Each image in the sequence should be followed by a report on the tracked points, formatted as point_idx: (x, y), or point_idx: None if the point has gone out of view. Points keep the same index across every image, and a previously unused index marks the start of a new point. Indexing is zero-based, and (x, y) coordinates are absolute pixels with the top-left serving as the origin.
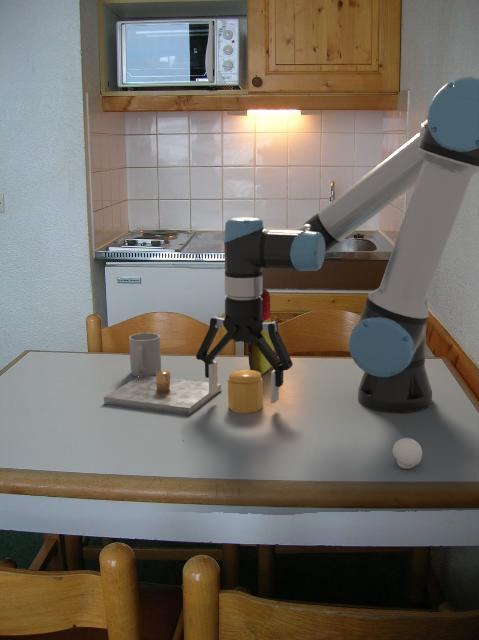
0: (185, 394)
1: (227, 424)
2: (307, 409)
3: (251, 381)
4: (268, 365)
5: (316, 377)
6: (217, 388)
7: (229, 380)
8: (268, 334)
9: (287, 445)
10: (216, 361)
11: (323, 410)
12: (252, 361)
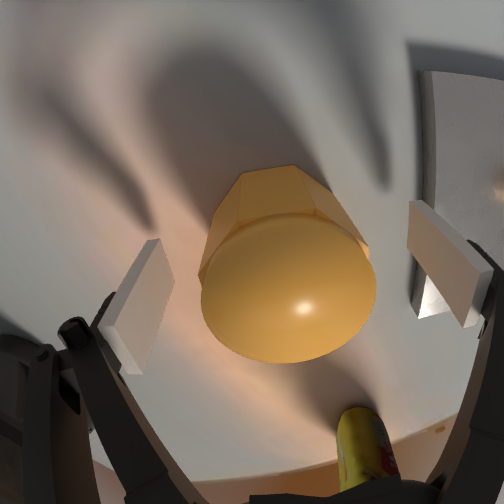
0: (488, 193)
1: (239, 42)
2: (105, 293)
3: (215, 255)
4: (337, 434)
5: (230, 434)
6: (410, 251)
7: (354, 238)
8: None
9: (3, 46)
10: (466, 325)
11: (75, 302)
12: (371, 428)
